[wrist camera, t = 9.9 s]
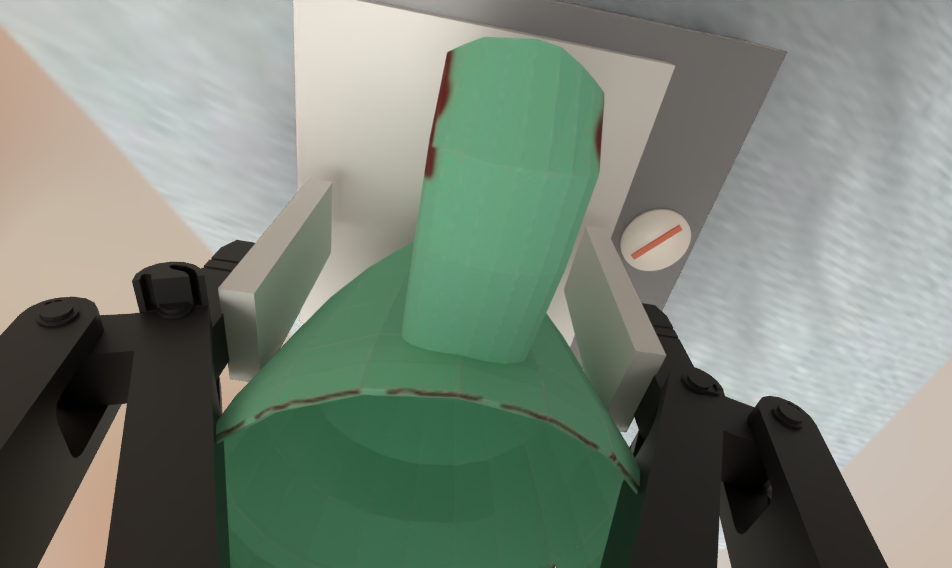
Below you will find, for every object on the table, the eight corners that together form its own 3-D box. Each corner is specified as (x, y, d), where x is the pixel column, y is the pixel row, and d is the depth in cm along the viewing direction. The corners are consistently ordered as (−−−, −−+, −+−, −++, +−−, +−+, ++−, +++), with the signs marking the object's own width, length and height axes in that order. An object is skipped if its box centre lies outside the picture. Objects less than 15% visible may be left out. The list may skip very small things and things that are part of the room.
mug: (536, 399, 22) (571, 672, 13) (312, 365, 21) (198, 637, 12) (672, 41, 14) (973, 154, 5) (322, -41, 13) (21, -60, 4)
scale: (746, 40, 19) (800, 55, 16) (616, 337, 27) (634, 387, 24) (327, -49, 17) (292, -53, 14) (323, 293, 25) (300, 339, 22)
